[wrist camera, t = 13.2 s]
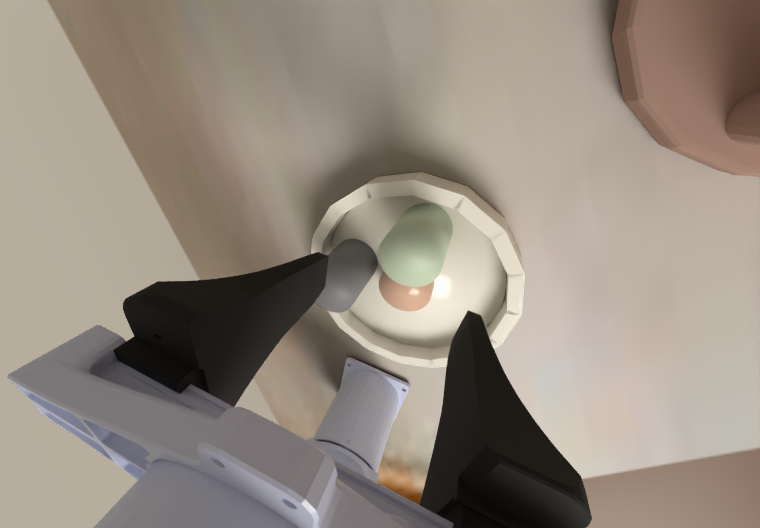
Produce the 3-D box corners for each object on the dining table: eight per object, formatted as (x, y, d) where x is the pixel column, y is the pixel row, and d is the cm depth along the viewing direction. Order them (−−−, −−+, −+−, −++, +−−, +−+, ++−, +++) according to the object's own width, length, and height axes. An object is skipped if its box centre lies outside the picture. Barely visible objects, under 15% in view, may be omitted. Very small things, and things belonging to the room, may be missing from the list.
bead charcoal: (372, 285, 25) (349, 320, 21) (333, 269, 26) (303, 300, 21) (382, 248, 23) (358, 279, 19) (339, 232, 23) (307, 259, 19)
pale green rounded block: (442, 259, 21) (430, 296, 17) (394, 242, 22) (372, 273, 18) (461, 213, 19) (452, 242, 15) (407, 195, 20) (386, 218, 16)
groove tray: (468, 371, 27) (467, 393, 25) (318, 307, 30) (305, 321, 28) (569, 217, 18) (579, 232, 16) (335, 145, 21) (319, 149, 19)
